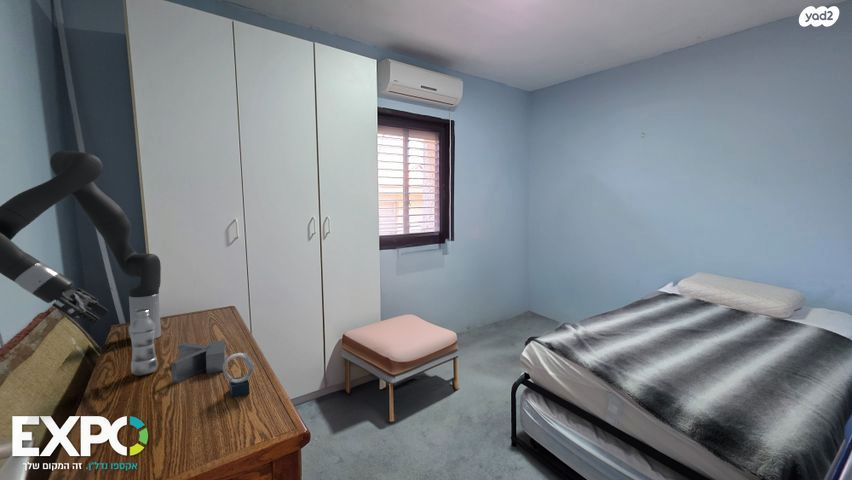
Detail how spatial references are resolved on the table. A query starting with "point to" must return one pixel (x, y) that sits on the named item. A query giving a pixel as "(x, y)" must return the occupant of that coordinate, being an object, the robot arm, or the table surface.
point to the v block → (198, 359)
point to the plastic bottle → (142, 343)
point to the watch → (239, 384)
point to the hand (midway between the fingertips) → (101, 317)
